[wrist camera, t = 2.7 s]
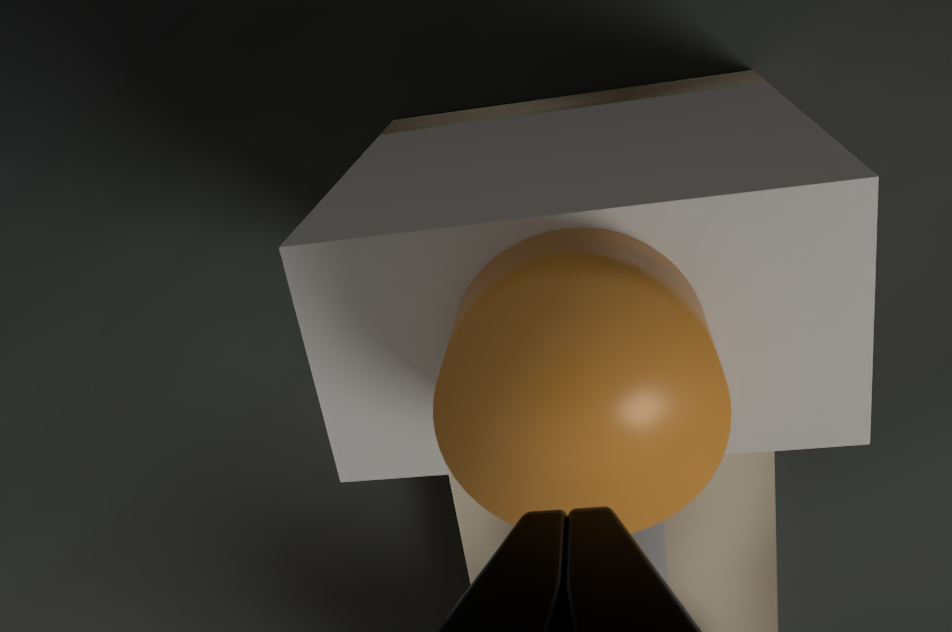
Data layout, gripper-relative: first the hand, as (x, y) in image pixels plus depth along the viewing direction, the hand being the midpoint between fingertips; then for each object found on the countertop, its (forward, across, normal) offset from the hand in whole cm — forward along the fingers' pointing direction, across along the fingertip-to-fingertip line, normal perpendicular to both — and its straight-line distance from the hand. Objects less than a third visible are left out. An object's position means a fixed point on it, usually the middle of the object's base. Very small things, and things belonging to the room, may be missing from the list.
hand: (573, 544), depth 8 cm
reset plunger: (+4, 0, 0) cm, 4 cm away
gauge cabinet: (+11, 0, 0) cm, 11 cm away
